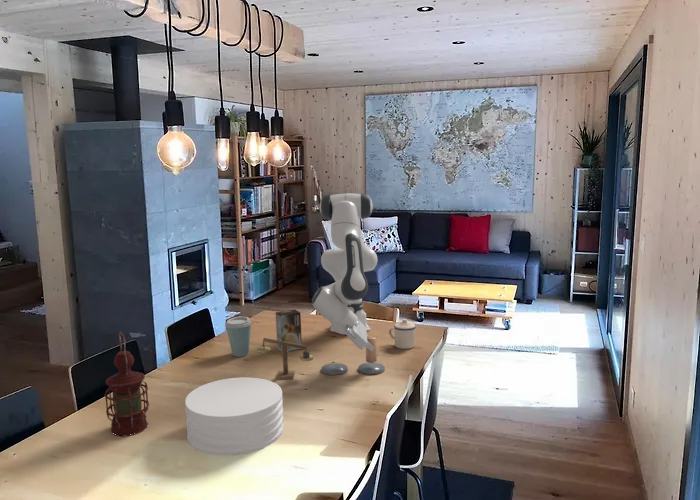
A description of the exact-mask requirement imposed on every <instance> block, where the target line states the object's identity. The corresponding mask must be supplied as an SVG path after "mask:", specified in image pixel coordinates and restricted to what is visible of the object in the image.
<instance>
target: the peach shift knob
mask: <svg viewBox="0 0 700 500" xmlns="http://www.w3.org/2000/svg"><path fill="white" fill-rule="evenodd" d="M368 336H369V337H367V341H368V342H369V343H370V344H372V345H373V346H374V350H373V351H370V350H369V349H368V348H366V347H365V361H366V362H365V363H377V360H378V359H377V357H378V356H377V355H378V354H377V352H378V351H377V350H378V349H377V336H370V335H368Z"/></svg>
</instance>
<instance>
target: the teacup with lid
mask: <svg viewBox="0 0 700 500" xmlns="http://www.w3.org/2000/svg"><path fill="white" fill-rule="evenodd" d="M392 330H394V336H393V334H392ZM388 334H389V336H390V338H391V339H393V340H394V347H395V348H397V349H403V350H408V349H413V348H414V347H415V346H416V325H415V323H412V322H410V321H408V319H407V318H402V321H400V322H397V323H395V324H394V326H393V327H390V328H389V330H388Z"/></svg>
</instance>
